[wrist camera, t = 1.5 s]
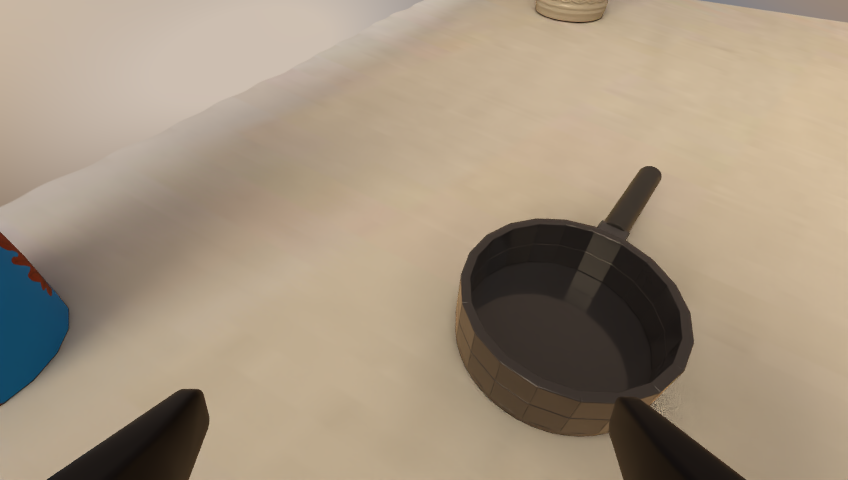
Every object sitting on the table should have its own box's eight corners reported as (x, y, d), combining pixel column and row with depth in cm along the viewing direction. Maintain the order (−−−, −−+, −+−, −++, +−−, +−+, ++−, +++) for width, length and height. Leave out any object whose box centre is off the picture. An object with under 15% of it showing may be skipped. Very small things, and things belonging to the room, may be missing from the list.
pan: (615, 491, 21) (653, 464, 18) (415, 347, 26) (416, 306, 23) (681, 321, 28) (715, 280, 25) (514, 237, 34) (525, 194, 31)
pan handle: (614, 260, 28) (624, 241, 27) (586, 247, 29) (595, 228, 28) (656, 189, 34) (666, 171, 33) (632, 180, 35) (641, 162, 34)
